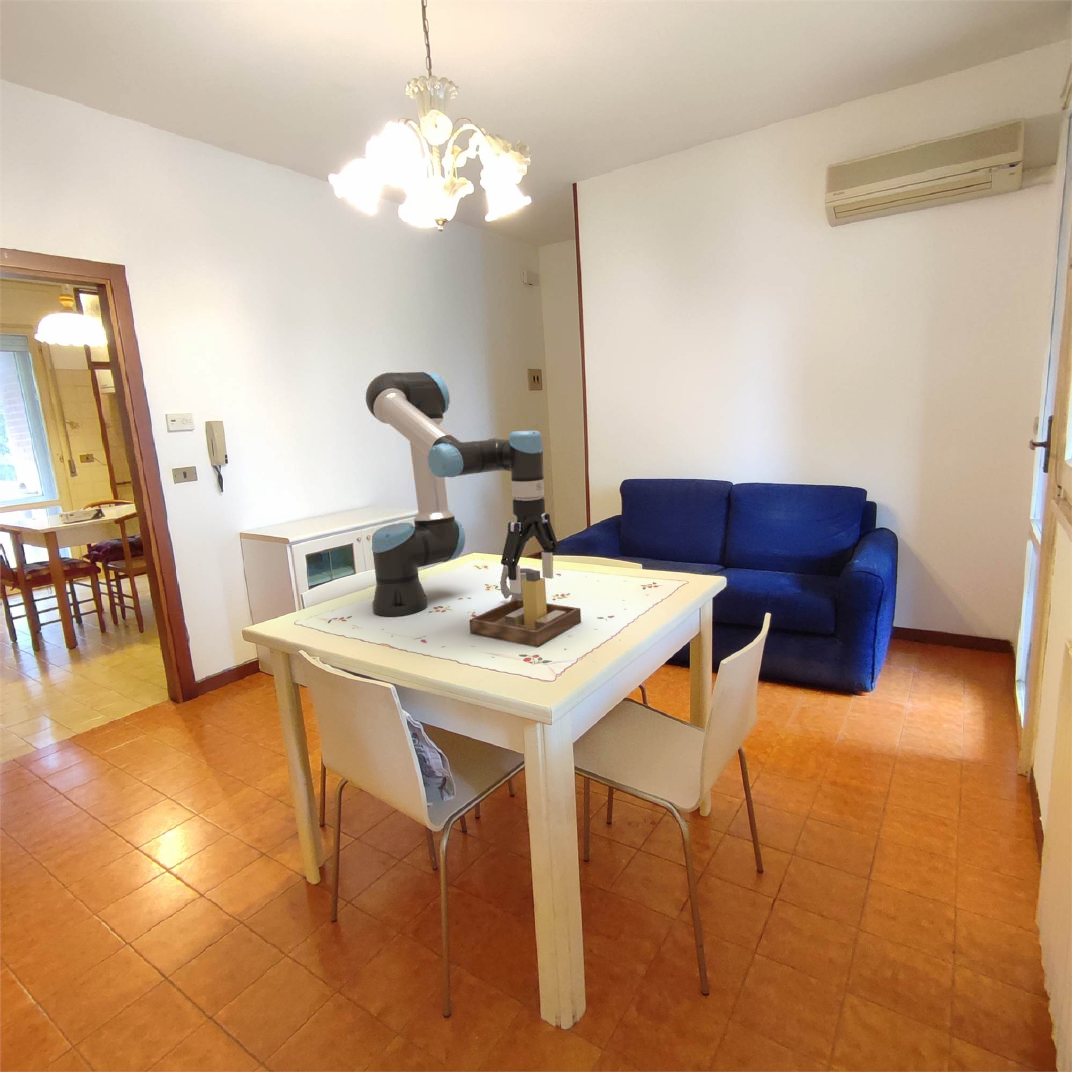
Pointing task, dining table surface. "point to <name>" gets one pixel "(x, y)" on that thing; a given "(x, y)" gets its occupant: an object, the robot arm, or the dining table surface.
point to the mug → (504, 587)
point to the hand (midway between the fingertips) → (532, 585)
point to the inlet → (518, 621)
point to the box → (496, 628)
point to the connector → (533, 597)
